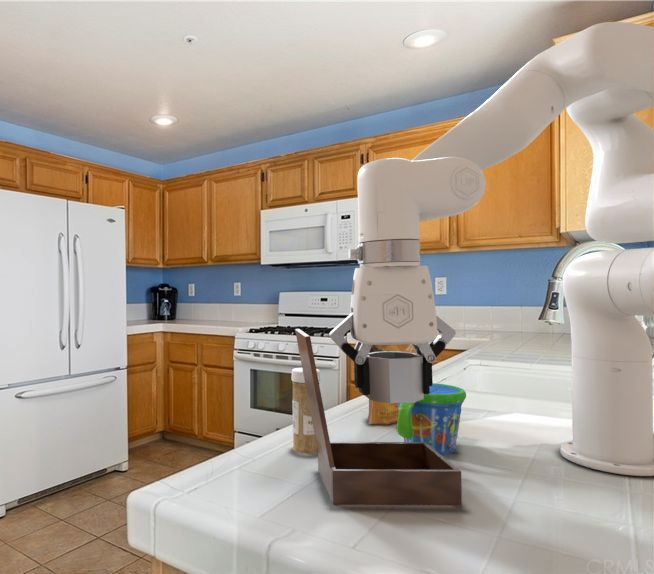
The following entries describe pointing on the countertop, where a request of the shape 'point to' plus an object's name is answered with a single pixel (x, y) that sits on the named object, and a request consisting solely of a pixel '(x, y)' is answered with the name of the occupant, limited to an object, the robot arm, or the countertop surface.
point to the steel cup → (395, 377)
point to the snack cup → (433, 418)
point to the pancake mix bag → (382, 410)
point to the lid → (314, 395)
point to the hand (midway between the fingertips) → (393, 391)
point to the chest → (389, 474)
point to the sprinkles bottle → (302, 415)
